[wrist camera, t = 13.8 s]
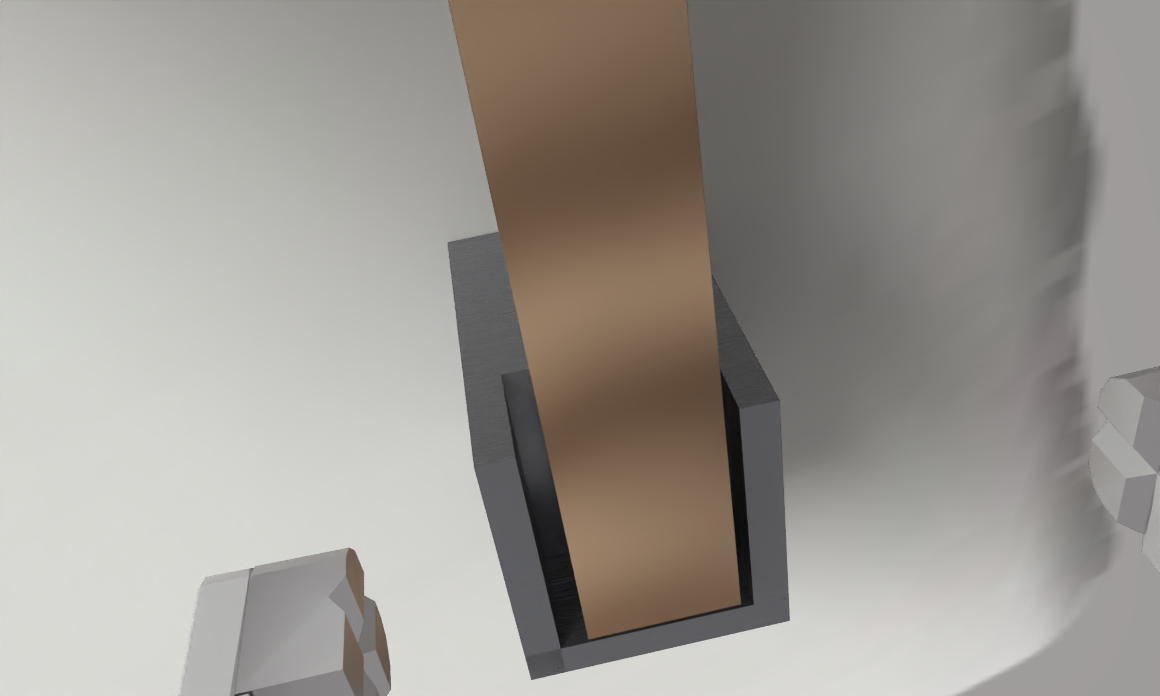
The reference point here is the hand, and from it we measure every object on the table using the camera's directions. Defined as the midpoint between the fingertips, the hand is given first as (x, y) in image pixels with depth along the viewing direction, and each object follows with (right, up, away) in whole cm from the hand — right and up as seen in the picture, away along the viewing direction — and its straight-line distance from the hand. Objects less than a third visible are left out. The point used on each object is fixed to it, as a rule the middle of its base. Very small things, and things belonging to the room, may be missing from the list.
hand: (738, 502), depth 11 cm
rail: (-2, +8, +12) cm, 15 cm away
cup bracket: (-2, +3, +26) cm, 26 cm away
